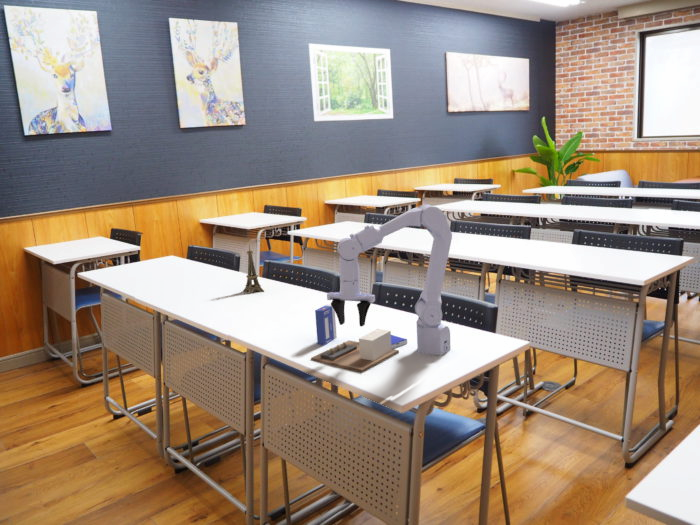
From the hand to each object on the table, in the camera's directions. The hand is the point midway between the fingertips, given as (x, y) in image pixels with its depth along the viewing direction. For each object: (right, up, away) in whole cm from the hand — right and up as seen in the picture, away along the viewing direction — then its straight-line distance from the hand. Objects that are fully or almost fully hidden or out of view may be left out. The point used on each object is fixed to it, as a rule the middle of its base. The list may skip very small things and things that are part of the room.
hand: (352, 324), depth 168 cm
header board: (+1, -10, +2) cm, 10 cm away
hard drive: (+6, -6, +17) cm, 19 cm away
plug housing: (+7, -9, 0) cm, 11 cm away
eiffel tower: (-43, +3, +82) cm, 92 cm away
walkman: (-8, -8, +16) cm, 20 cm away
